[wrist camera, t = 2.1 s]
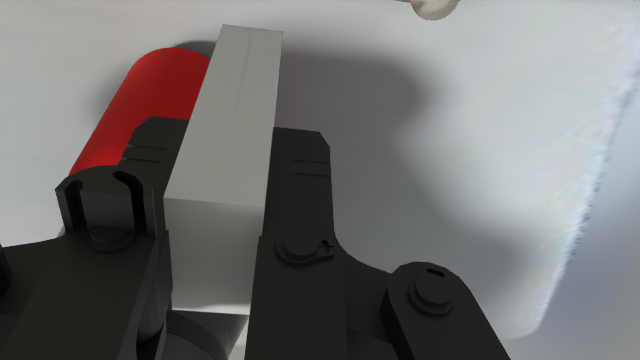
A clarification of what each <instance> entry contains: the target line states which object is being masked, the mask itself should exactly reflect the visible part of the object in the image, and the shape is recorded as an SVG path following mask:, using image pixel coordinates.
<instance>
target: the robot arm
mask: <svg viewBox="0 0 640 360" xmlns="http://www.w3.org/2000/svg"><path fill="white" fill-rule="evenodd" d="M282 35H283V32H280V31H272V30H264V29H256V28H248V27H240V26H232V25H224V24H223V26H222V29H221V32H220V34H219V37H218V40H217V43H216V46H215V49H214V52H213V55H212V58H211V61H210V63H209V66H208V69H207V72H206V75H205V78H204V81H203V84H202V87H201V89H200V92H199V95H198V98H197V101H196V104H195V107H194V110H193V113H192V116H191V118H190V120H186V119H177V118H167V117H158V116H151V117H150V118H149V119H147V120H146V121H145V122H143V123H142V124H141V125H139V126H138V127H136V128H135V130H134V132H133V134H132V136H131V138H130V140H129V142H128V144H127V148H125V150H124V152H123V154H122V156H121V161H119V162H118V164H117V165H99V166H95V167H91V168H86V169H82V170H80V171H78V172H76V173H74V174H72V175H70V176H68V177H67V178H65V179H64V180H63V181H62V182H61V183H60V184H59V185H58V186H57V187H56V188H55V192H56V196H57V200H58V203H59V207H60V211H61V215H62V219H63V223H64V225H63V227H62V229H61V231H60V233H59V234H58V236H57V238H55V239H50V240H46V241H42V242H36V243H29V244H23V245H16V246H9V247H3V248H2V246H1V244H0V360H228V358H229V355H230V353H231V351H232V349H233V347H234V345H235V343H236V341H237V339H238V337H239V335H240V333H241V331H242V330H243V328H244V326H245V324H246V322H247V320H248V318H249V324H248V332H247V341H246V350H245V358H244V360H511V359H510V358H509V356H508V354H507V353H506V351H505V349H504V347H503V346H502V344H501V343H500V341H499V339H498V337H497V336H496V334H495V332H494V330H493V329H492V327H491V325H490V324H489V322H488V320H487V318H486V317H485V315H484V313H483V312H482V310H481V308H480V306H479V305H478V303H477V301H476V300H475V298H474V296H473V295H472V293H471V291H470V290H469V288H468V287H467V286H466V285H465V284H464V282H463V281H462V280H461V279H460V278H459V277H458V276H457V275H455V274H454V273H452V272H451V271H449V270H448V269H446V268H444V267H441V266H438V265H435V264H433V263H430V262H411V263H408V264H405V265H401V266H400V267H398V268H397V269H396V270H395V271H394V272H393V273H392V274H391V273H388V272H385V271H382V270H379V269H376V268H373V267H371V266H368V265H366V264H364V263H362V262H359V261H357V260H356V259H355V258H353V257H352V256H350V255H349V254H348V253H347V252H346V251H345V250H344V249H343V248H342V247H341V246H340V244H339V242H338V240H337V239H336V236H335V232H334V222H333V203H332V184H331V166H330V147H329V145H328V144H327V142H326V141H325V139H324V138H323V136H322V135H321V134H320V132H317V131H307V130H297V129H288V128H278V127H274V122H275V111H276V100H277V89H278V78H279V68H280V57H281V46H282Z"/></svg>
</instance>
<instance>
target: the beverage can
mask: <svg viewBox="0 0 640 360" xmlns="http://www.w3.org/2000/svg"><path fill="white" fill-rule="evenodd" d="M210 61H211V59H209V58H207V57H206V56H204V55H202V54H200V53H197V52H195V51H192V50H188V49H183V48H163V49H158V50H155V51H152V52H150V53H148V54H146V55H144V56H143V57H141V58H140V59H139V60H138V61H137V62H136V63H135V64H134V65H133V67H132V68H131V70H130V71H129V73H128V75H127V76H126V78H125V80H124V81H123V83H122V85H121V87H120V88H119V90H118V92H117V93H116V95H115V97H114V98H113V100H112V102H111V103H110V105H109V107H108V108H107V110H106V112H105V113H104V115H103V117H102V118H101V120H100V122H99V123H98V125H97V127H96V128H95V130H94V132H93V134H92V135H91V137H90V139H89V140H88V142H87V144H86V145H85V147H84V149H83V150H82V152H81V154H80V155H79V157H78V159H77V160H76V162H75V164H74V165H73V167H72V169H71V171H70V173H69V175H68V176H70V175H72V174H74V173H76V172H78V171H80V170H82V169H86V168H91V167H95V166H99V165H117V164H118V162H119V161H121V156H122V154H123V152H124V150H125V148H127V144H128V142H129V140H130V138H131V136H132V134H133V132H134V130H135V128H136V127H138V126H139V125H141V124H142V123H143V122H145V121H146V120H147V119H149V118H150V117H151V116H158V117H167V118H177V119H186V120H190V118H191V116H192V113H193V110H194V107H195V104H196V101H197V98H198V95H199V92H200V89H201V87H202V84H203V81H204V78H205V75H206V72H207V69H208V66H209V63H210Z"/></svg>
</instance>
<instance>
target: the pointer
mask: <svg viewBox="0 0 640 360" xmlns="http://www.w3.org/2000/svg"><path fill="white" fill-rule="evenodd" d="M458 1H459V0H410V3H411V5H412V7H413V9H414V11H415V12H416V14H417V15H418V16H420V17H421V18H423V19H426V20H439V19H442V18H444V17H446V16H447V15H449V14H450V13H451V12H452V11H453V10H454V9H455V7H456V6H457V4H458Z"/></svg>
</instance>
